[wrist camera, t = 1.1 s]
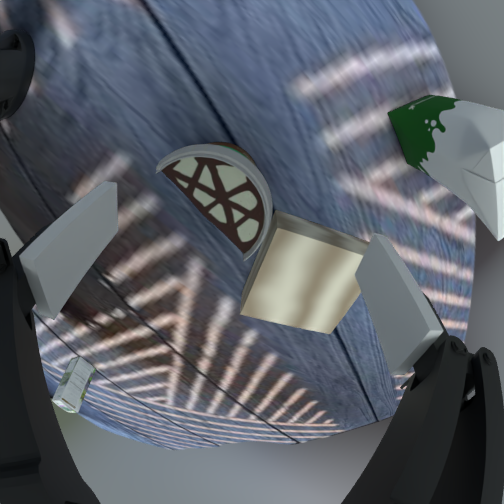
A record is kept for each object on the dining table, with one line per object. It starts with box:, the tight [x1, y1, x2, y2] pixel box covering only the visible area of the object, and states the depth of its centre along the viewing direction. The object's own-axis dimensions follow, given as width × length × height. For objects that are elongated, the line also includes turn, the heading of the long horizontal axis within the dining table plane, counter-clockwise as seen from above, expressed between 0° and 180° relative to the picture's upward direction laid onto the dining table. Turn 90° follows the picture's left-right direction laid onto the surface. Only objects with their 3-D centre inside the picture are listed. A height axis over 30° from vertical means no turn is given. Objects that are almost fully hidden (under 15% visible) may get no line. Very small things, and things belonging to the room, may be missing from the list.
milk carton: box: [388, 95, 504, 241], centre depth 18 cm, size 9×9×20 cm
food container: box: [156, 142, 273, 261], centre depth 26 cm, size 12×6×10 cm, turn 40°
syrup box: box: [52, 356, 96, 413], centre depth 52 cm, size 6×6×14 cm
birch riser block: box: [240, 210, 370, 334], centre depth 37 cm, size 14×14×5 cm
